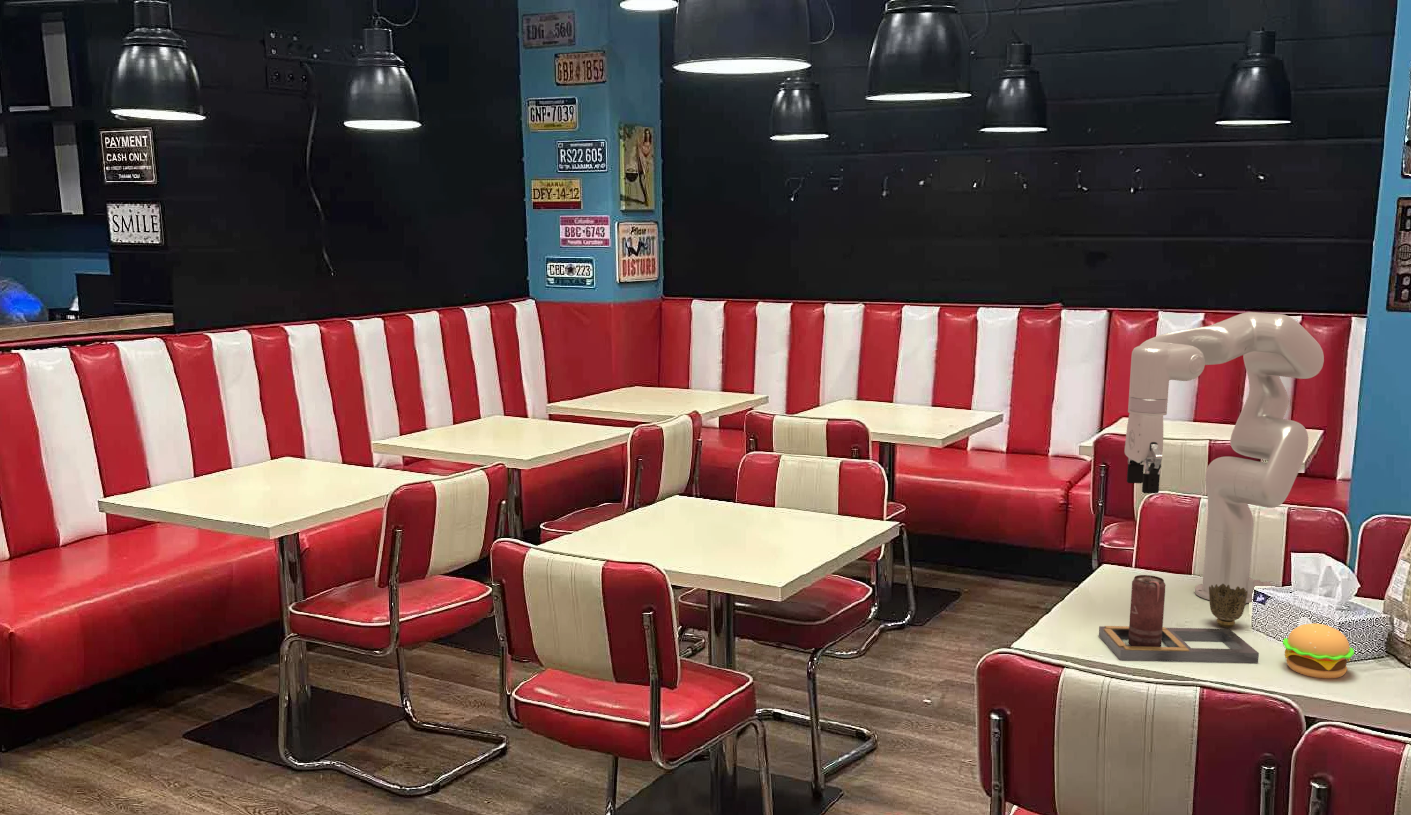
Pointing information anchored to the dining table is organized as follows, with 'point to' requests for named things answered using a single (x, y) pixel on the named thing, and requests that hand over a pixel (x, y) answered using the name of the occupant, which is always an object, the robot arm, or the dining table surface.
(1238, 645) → the grey tray
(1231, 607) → the cup
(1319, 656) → the hamburger
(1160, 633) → the can
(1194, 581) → the dining table surface
